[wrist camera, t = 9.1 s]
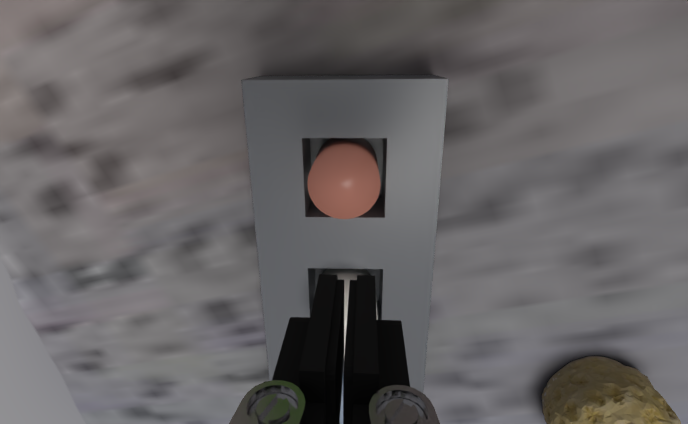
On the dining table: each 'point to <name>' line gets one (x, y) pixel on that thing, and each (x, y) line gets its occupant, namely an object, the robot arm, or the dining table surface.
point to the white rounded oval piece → (347, 287)
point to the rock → (603, 395)
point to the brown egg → (344, 178)
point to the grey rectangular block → (356, 233)
